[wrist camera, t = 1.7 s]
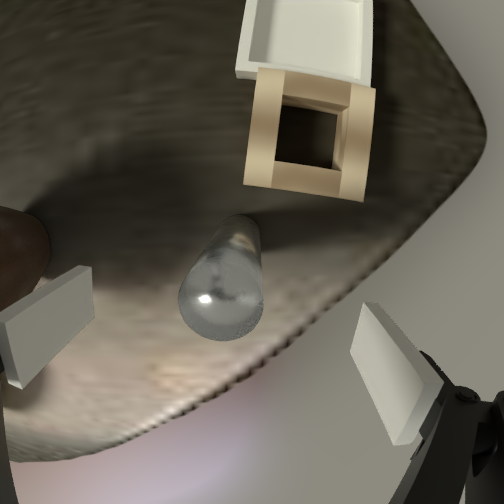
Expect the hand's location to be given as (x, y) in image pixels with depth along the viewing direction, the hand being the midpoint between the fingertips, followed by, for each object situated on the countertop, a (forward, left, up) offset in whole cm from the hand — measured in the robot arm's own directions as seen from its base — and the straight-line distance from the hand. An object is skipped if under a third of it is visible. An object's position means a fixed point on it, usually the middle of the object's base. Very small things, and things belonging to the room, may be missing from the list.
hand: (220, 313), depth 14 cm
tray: (-21, +4, -16) cm, 27 cm away
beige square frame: (-10, +5, -17) cm, 20 cm away
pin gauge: (0, 0, -17) cm, 17 cm away
